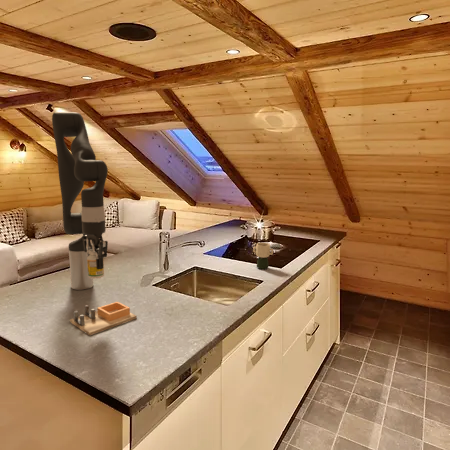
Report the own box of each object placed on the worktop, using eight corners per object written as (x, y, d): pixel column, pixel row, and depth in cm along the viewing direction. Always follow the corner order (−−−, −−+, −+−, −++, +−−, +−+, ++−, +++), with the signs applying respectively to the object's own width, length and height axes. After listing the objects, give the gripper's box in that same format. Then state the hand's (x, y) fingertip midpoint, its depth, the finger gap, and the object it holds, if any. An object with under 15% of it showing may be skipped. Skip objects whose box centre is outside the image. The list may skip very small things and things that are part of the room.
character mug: (274, 267, 195) (275, 244, 193) (270, 271, 189) (270, 247, 187) (255, 265, 200) (256, 241, 198) (250, 268, 194) (251, 244, 191)
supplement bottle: (101, 278, 126) (99, 251, 124) (85, 278, 126) (84, 251, 124) (106, 274, 131) (105, 248, 130) (91, 273, 132) (90, 247, 130)
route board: (70, 322, 129) (69, 319, 128) (115, 307, 142) (115, 304, 142) (89, 335, 119) (89, 332, 119) (136, 318, 132) (136, 315, 132)
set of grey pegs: (71, 319, 129) (70, 310, 128) (88, 314, 133) (87, 305, 132) (81, 326, 124) (80, 316, 123) (98, 320, 128) (98, 310, 127)
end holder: (97, 314, 133) (97, 307, 133) (117, 307, 139) (117, 301, 138) (109, 321, 128) (109, 314, 127) (129, 314, 133) (129, 307, 133)
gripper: (73, 217, 127) (76, 264, 130) (93, 223, 118) (95, 273, 121) (93, 215, 133) (96, 260, 136) (114, 220, 123) (116, 269, 126)
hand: (96, 266), depth 128 cm, fingers closed on supplement bottle, 5 cm apart
